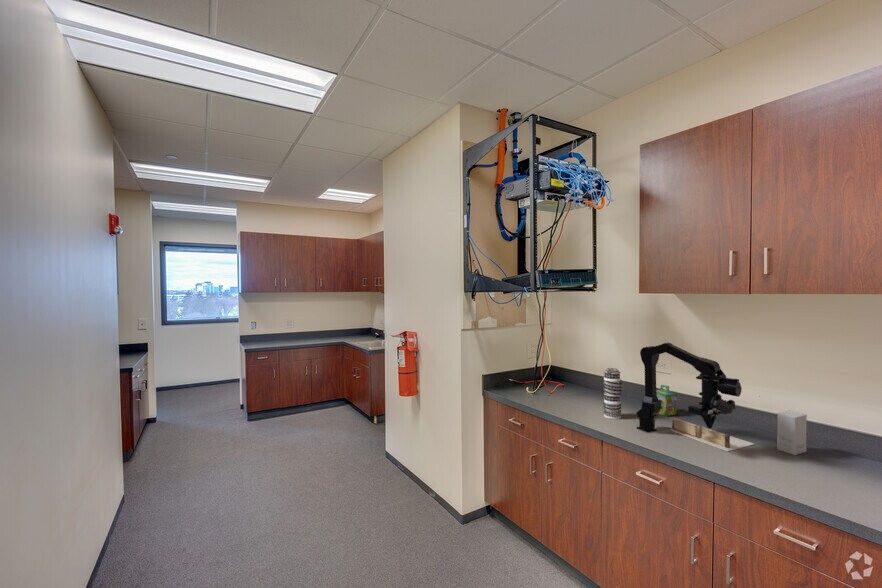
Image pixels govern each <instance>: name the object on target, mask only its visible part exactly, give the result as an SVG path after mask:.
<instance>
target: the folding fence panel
mask: <svg viewBox="0 0 882 588" xmlns="http://www.w3.org/2000/svg"><path fill="white" fill-rule="evenodd" d="M702 427H703V428H701V429H702V439H705V440H708V441H710V442H713V443H716V444H719V445H722V446H725V447H726V448H730V436H731V435H729V434H726V433H723V432H720V431H717V430H714V429H711V430H710V428H708V427H705V428H704V426H702ZM707 428H708V429H707ZM713 430H714V431H713ZM716 431H717V432H716Z"/></svg>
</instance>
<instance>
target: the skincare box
mask: <svg viewBox="0 0 882 588" xmlns="http://www.w3.org/2000/svg"><path fill="white" fill-rule="evenodd" d="M807 417H808V415H807V414H805V413H802V412H799V411H794V410H789V409H788V410H784V411H781V412H777V424H776V425H777V427H776V428H777V435H776V436H777V439H776V444H777V445H776V450H778V451H782V452H783V453H787V454H789V455H793V456H797V455H799V454H803V453H806V452H807V424H808V423H807V419H808V418H807Z"/></svg>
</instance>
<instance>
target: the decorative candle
mask: <svg viewBox="0 0 882 588" xmlns="http://www.w3.org/2000/svg"><path fill="white" fill-rule="evenodd" d="M603 372H604V374H603V375H604V376H603V381H602V388H603V392H602V393H603V394H604V398H603V403H602V404H603V409H602V410H603V417H604V418H606V419H610V420H620V419H621V418H622V407H621V406H622V403H621V396H622V393H621V392H622V386H621V385H622V383H623V382H622V379H621V371H619V369H617V368H613V367H608V368H605V370H603Z"/></svg>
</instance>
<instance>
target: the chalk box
mask: <svg viewBox="0 0 882 588" xmlns="http://www.w3.org/2000/svg"><path fill="white" fill-rule="evenodd" d="M664 388H665V389H664ZM656 395H657V398H658V400H662V403H661V406H662V409H661V411H660V412H659V413H657V415H660V416H663V417H669V416H673V415H678V413H677V412H678V393H677V392H674V391H671V390H670V386H669V385H664V384H661V385H660V389H656Z"/></svg>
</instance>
